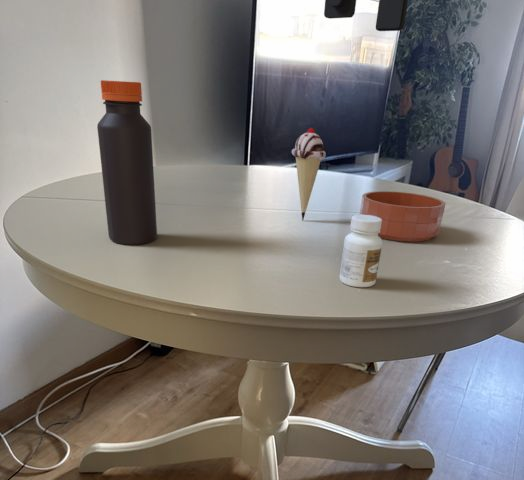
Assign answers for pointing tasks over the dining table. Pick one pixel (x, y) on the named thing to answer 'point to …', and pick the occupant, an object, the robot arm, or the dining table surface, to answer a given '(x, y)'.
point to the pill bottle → (361, 252)
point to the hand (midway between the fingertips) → (365, 24)
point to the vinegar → (127, 165)
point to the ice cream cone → (307, 164)
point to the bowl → (404, 214)
